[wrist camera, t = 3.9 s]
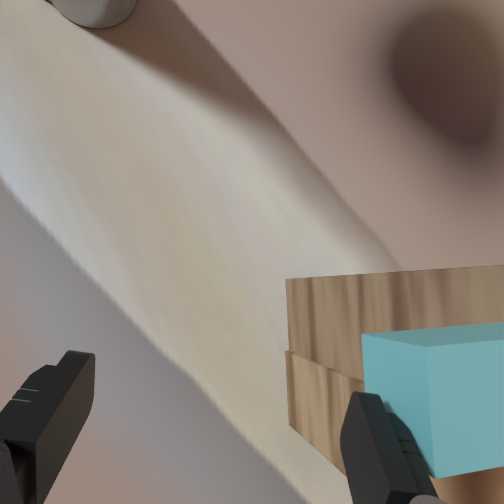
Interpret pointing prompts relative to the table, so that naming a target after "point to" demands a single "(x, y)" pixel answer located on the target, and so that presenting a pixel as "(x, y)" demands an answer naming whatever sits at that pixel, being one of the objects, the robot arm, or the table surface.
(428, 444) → the light blue rectangular bar
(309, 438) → the wooden block
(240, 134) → the table surface
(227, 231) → the table surface
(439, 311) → the tall stand
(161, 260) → the table surface
